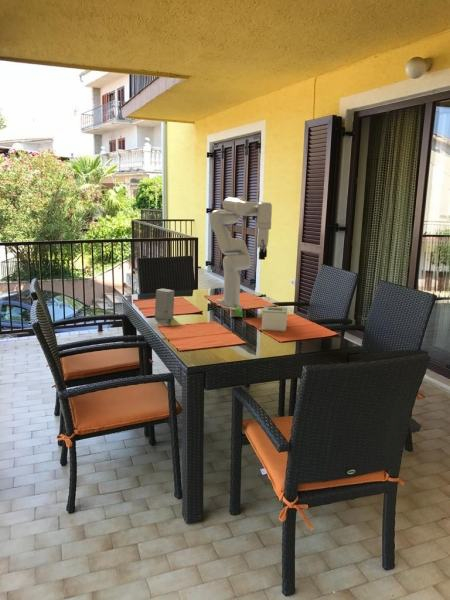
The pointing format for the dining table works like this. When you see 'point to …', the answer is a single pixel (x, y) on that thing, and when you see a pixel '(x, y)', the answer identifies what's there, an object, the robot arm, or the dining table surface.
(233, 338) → the dining table surface
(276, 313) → the box
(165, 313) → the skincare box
